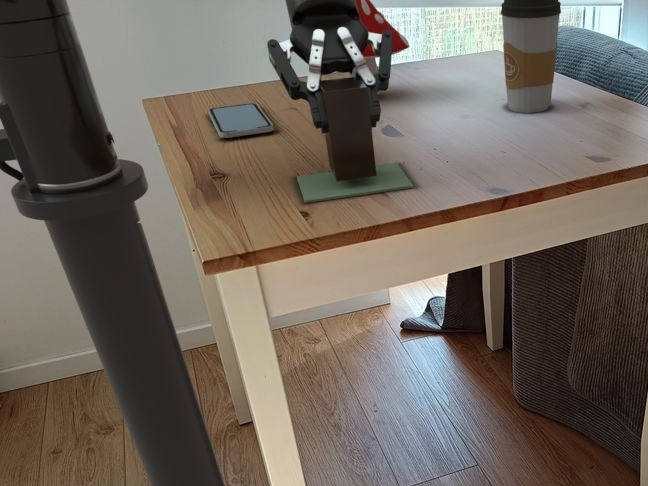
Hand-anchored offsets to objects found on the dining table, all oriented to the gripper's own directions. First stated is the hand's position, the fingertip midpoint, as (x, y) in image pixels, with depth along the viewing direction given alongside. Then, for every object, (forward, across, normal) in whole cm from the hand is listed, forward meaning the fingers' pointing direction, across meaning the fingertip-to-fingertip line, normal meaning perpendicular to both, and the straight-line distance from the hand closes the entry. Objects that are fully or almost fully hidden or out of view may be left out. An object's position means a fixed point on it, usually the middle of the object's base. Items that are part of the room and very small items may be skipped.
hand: (349, 125), depth 73 cm
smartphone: (-17, -11, +28) cm, 34 cm away
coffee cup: (-11, +30, +21) cm, 38 cm away
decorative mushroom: (-22, +9, +32) cm, 40 cm away
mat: (+4, 0, +6) cm, 7 cm away
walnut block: (+3, 0, +5) cm, 6 cm away
